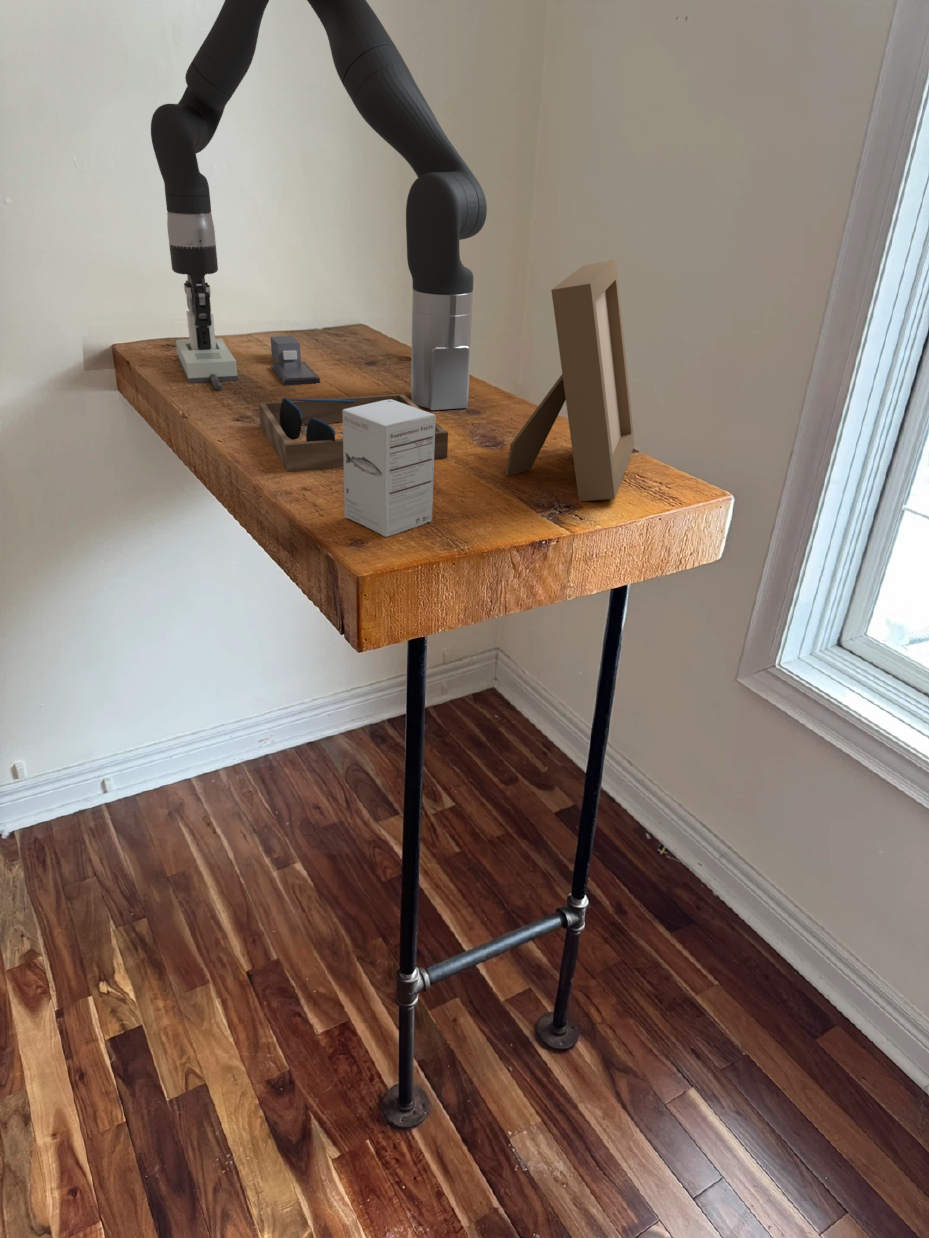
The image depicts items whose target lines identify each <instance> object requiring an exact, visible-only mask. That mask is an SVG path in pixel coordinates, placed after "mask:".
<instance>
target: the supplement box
mask: <svg viewBox="0 0 929 1238" xmlns="http://www.w3.org/2000/svg"><path fill="white" fill-rule="evenodd" d="M420 409H421V408H420ZM420 409H417V408H415V407H412V406H409V405H406V404H403V403H400V402H398V401H395V400H392V399H389V400H383V401H378V402H374V403H369V404H365V405H361V406H356V407H351V408H347V409H344V410H343V411H342V412H343V422H342V432H343V434H342V439H343V460H344V467H343V499H344V501H343V502H344V503H343V504H344V505H343V506H344V507H343V509H344V510H343V511H344V518H345V519H348V520H351V521H353V522H355V523H357V524H359V525H361V526H364V527H366V528H368V529H369V530H372V531H374V532H376V533H378V534H380V535H381V536H382V537H384V538H388V537H390V536H393V535H397V534H399V533H403V532H406V531H408V529H409V530H411V528H412V529H414V528H417V527H418V528H419V527H420V526H423V525H426V524H428V523H427V522H429V523H431V522H432V521H433V503H434V502H433V499H434V497H433V496H434V475H435V473H434V472H435V471H434V470H435V469H434V467H435V459H434V446H435V422H436V419H437V417H436V414H434V413H431V412H428V411H425V410H423V409H421V410H420ZM425 523H426V524H425Z"/></svg>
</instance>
